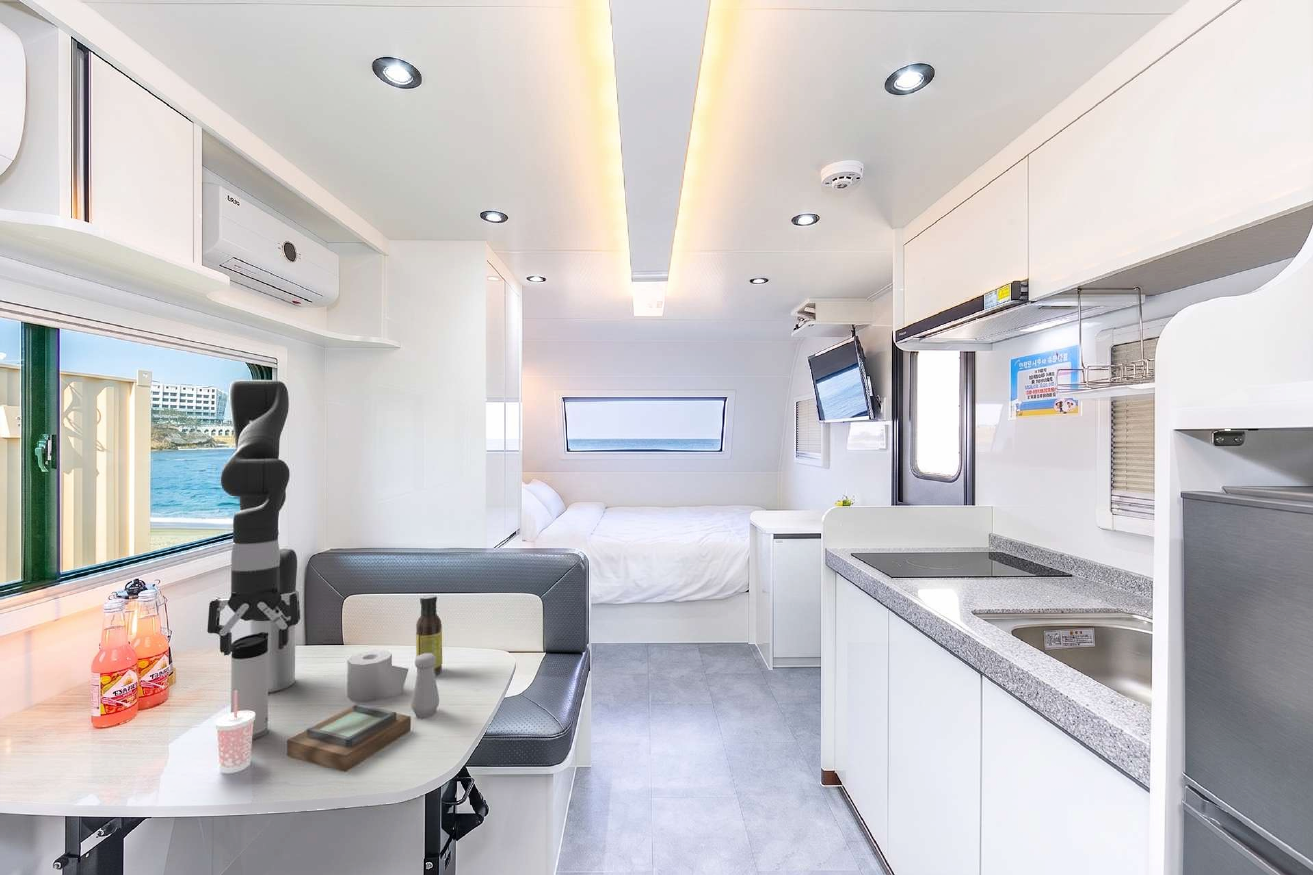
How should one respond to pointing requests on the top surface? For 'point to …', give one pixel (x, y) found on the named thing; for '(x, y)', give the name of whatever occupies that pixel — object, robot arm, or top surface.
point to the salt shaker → (425, 687)
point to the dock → (349, 737)
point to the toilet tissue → (374, 676)
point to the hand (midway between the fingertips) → (255, 650)
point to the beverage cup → (235, 739)
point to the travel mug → (251, 679)
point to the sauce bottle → (429, 631)
